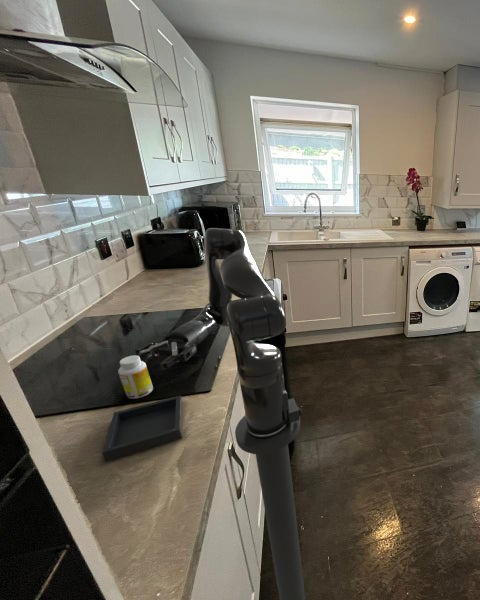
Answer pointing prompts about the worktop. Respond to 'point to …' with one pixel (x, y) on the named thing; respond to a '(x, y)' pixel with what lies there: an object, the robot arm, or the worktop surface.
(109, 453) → the shallow tray
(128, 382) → the supplement bottle
